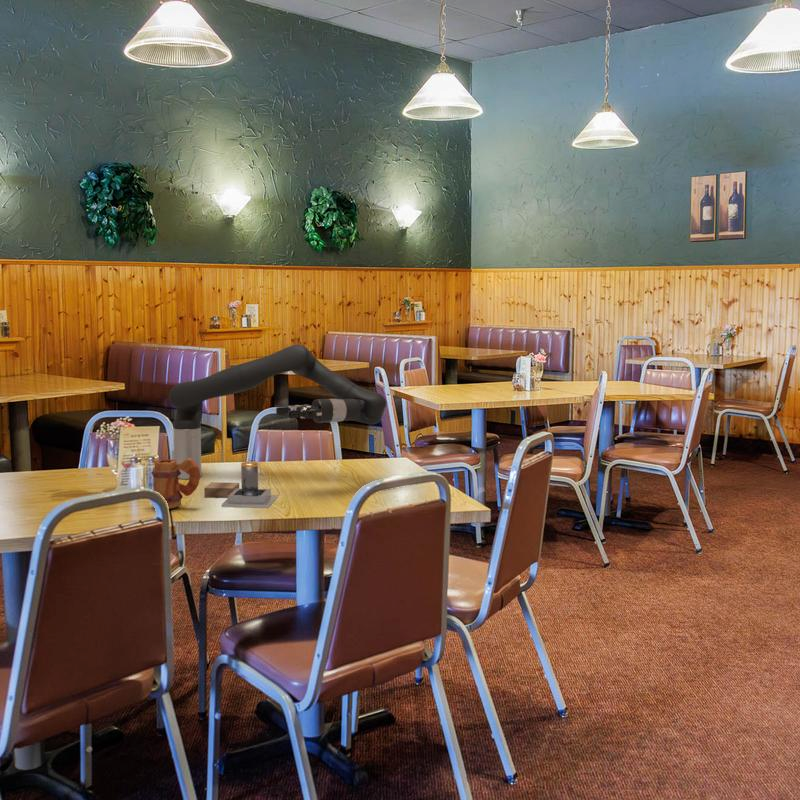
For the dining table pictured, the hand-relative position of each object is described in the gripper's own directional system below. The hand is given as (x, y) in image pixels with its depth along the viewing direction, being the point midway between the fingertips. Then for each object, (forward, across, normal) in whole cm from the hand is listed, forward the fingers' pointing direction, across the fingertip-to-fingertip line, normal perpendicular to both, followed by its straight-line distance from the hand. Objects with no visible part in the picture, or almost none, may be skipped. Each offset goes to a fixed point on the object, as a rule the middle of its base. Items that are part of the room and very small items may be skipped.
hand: (282, 412), depth 278 cm
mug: (+33, -3, +28) cm, 43 cm away
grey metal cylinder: (+10, 0, +26) cm, 28 cm away
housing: (+11, 0, +27) cm, 29 cm away
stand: (+14, -14, +27) cm, 34 cm away
